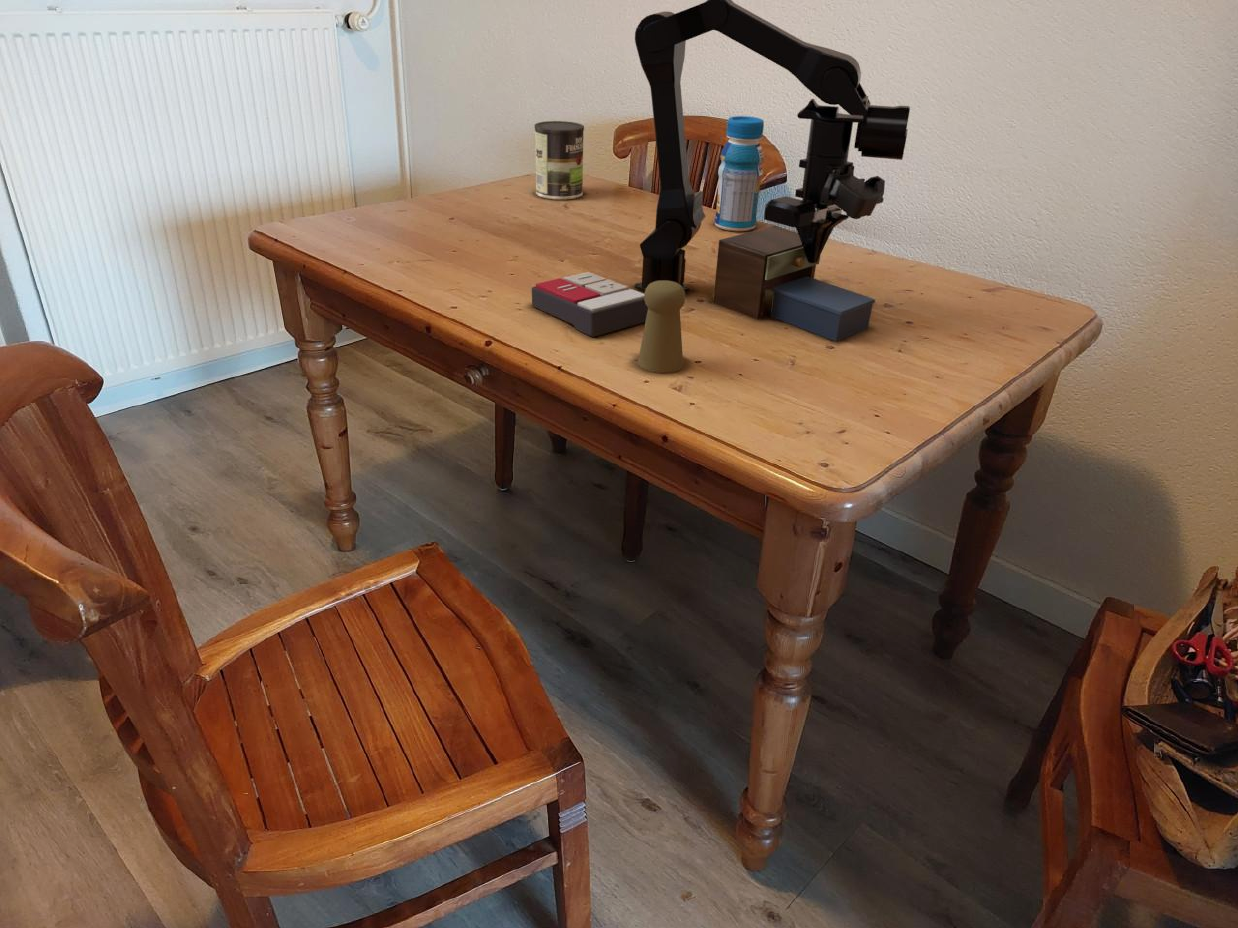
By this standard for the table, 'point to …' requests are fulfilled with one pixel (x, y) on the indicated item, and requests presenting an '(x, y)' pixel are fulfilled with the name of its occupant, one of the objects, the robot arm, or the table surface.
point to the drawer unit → (752, 268)
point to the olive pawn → (662, 328)
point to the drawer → (787, 263)
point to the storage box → (821, 308)
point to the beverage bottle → (740, 175)
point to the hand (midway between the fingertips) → (812, 262)
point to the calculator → (591, 303)
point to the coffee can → (559, 159)
